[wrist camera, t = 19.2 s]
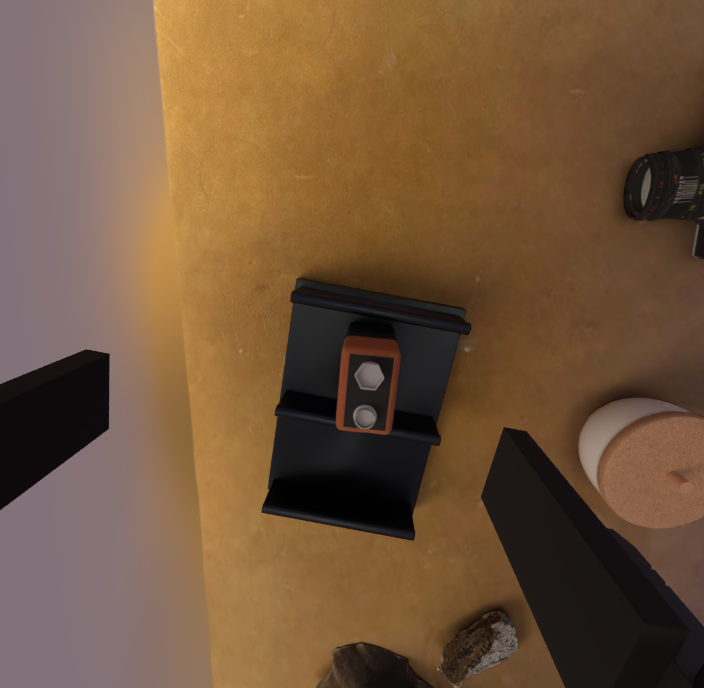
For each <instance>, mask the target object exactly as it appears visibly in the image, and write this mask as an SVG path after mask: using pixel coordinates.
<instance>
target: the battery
mask: <svg viewBox="0 0 704 688" xmlns="http://www.w3.org/2000/svg"><path fill="white" fill-rule="evenodd" d="M400 361H401V354H400V350H399V347H398V343H397V339H396V335H395V331H394V329H393V327H392V326H388V325H377V324H367V323H357V322H352V323H350V324H349V326H348V329H347V333H346V337H345V341H344V344H343V348H342V353H341V364H340V376H339V388H338V400H337V411H336V427H337V428H338V429H339V430H344V431H353V432H363V433H373V434H382V435H387V434H389V433H390V432H391V429H392V424H393V416H394V408H395V400H396V393H397V385H398V377H399V369H400Z"/></svg>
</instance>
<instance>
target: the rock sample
mask: <svg viewBox="0 0 704 688" xmlns="http://www.w3.org/2000/svg"><path fill="white" fill-rule="evenodd" d="M515 633H516V630H515V626H514V624H513V623H512V622H511V620H510V619H509V618H508V617H507V616H506V615H504V613H502V612H499V611H493V612H490V613H486V614H484V615H483V616H482V618H481V620H480V621H478V622H476V623H474V624H473V625H472V626H471V627H470V628H468V629H466V630H462V631H460V632H459V634H457V635H456V637H455V638H454V639H453V640H452V641H450V643H448V644H447V645H446V646H444V649H443V651H442V656H441V666H440V668H437V671H438V670H439V671H440V672H442V673H443V674H441V675H442V676H444V677H445V678H446V680H447V681H449V683H450V684H452V685H453V687H454V688H461V686H462V685H463V683H464V680H465V678H467V677H469V676H470V675H471V674H478V673H479V672H481V671H484V670H485V669H487V668H489V667H491V666H494V665H497V664H499V663H502V662H504V661H505V660H507V659H508V658H509V657H510V656H511V655H512V654H513V653H515V652H516V651H517V650H518V649H519V646H518V644H517V641H518V640H519V639H518V638H517V637H516V636H515Z"/></svg>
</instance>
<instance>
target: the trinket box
mask: <svg viewBox="0 0 704 688" xmlns="http://www.w3.org/2000/svg"><path fill="white" fill-rule="evenodd" d="M578 451H579V457H580V461H581V464H582V466H583V469H584V471H585V473H586V475H587V477H588V478H589V480H590V481H591V483H592V484H593V486H594V487H595V488H596V490H597V491H598V492H599V493H600V494H601V496H602V497H603V499H604V500H605V501H606V503H607V504H608V505H609V507H610V508H611V509H612V510H613V511H614V512H615V513H616V514H617V515H618V516H620V517H621V518H623V519H624V520H626V521H628V522H630V523H633V524H635V525H638V526H642V527H647V528H672V527H678V526H682V525H686V524H688V523H691V522H693V521H696V520H698V519H700V518H702V517H703V516H704V417H701V416H699V415H696V414H694V413H692V412H689V411H687V410H685V409H683V408H681V407H679V406H676V405H673V404H670V403H667V402H664V401H660V400H656V399H650V398H626V399H620V400H616V401H613V402H610V403H608V404H606V405H604V406H602V407H601V408H599V409H597V410H596V411H595V412H593V413H592V414H591V415H590V416H589V418H588V419H587V421H586V422H585V424H584V425H583V428H582V430H581V432H580V436H579V443H578Z"/></svg>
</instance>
